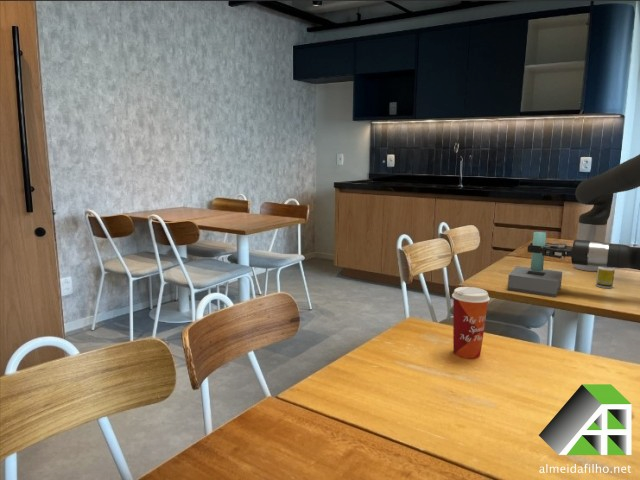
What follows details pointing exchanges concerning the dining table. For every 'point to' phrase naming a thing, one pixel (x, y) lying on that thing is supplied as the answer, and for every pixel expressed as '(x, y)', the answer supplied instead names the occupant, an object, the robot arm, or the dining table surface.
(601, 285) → the supplement bottle
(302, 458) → the dining table surface
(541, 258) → the pin
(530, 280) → the socket block
